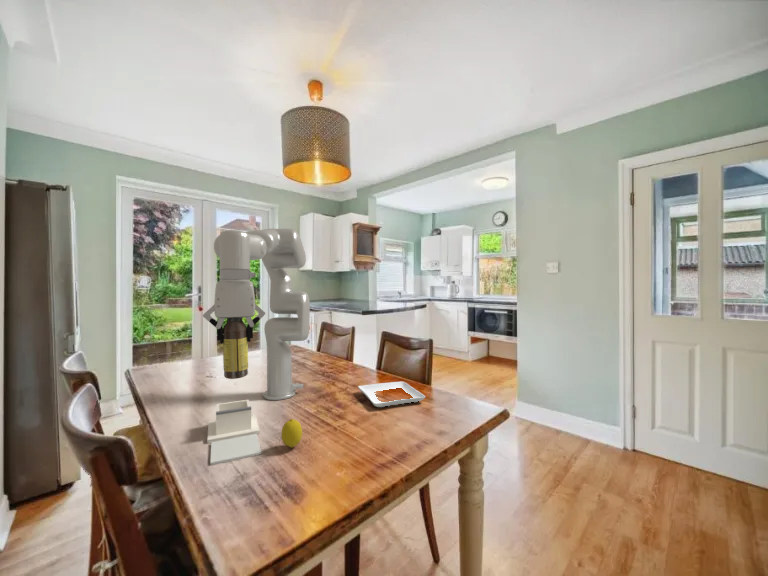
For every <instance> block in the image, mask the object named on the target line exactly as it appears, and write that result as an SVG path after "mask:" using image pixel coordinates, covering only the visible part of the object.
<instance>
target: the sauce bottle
mask: <svg viewBox="0 0 768 576" xmlns="http://www.w3.org/2000/svg"><path fill="white" fill-rule="evenodd" d="M226 320H227V321H226V324H225V325H224V327H222V328H223V343H222V359H223V360H222V361H223V372H224V374H223V378H226V379H230V380H235V379H236V380H237V379H242V378H244V377H246V376H247V375H248V374H249V371H248V370H249V369H248V368H249V351H248V349H249V346H248V344H249V342H248V341H247V327H248V326H247V325H246V324H245V323H244V321H243V318H238V317H233V318H226Z"/></svg>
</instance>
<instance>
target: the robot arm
mask: <svg viewBox="0 0 768 576" xmlns="http://www.w3.org/2000/svg"><path fill="white" fill-rule="evenodd" d="M213 250H214V253H215V255H216V256H217V257H218V258H219V281H216V283H215V288H214V289H215V290H214V302H213V303H214V304H213V305H212V306H210V308H209V309H207V311H205V312H204V313H203V315H202V317H203V318H204V319H205V320H206V321H208V322H209V323H210V324H211V325H212V326H213V327H215V328H216V335H217V336H216V338H217V339H216V340H217V341H219V344H221V345H223V328H224V327H223V323H224V321H225V319H227V318H233V317H238V318H242V319H243V318H245V320H246V321H247V326H246V327H247V341H248V343H250V342H251V339H253V338H254V327H255V325H256V324H257V323H258V322H260V321H261V320H262V318H263V317H264V316H265V315H266V311H264V310H263V309H261V307H259V306H258V305H257V304H256V297H255V289H254V284H253V281H251V279H252V278H256V272H254V271H251V270H250V268H251V265H250V264H251V261H257V260H261V261H262V263H263V266H264V267H265V270H266V272H267V274H268V276H269V281H270V286H269V309H270V310H269V311H270V312H271V313H272V314H276V315H296V316H297V317H283V316H282V317H279V316H278V317H271V318H270V319H268V320H266V322H265V323H264V328H263V329H264V336H265V343H266V390H265V391H264V392H263V393H262V397H263V399H265V400H269V401H281V400H286V399H289V398H292V397H294V396H295V395H296V390H297V389H299V390H300V389H304V383H299V382H296V383H293V381H292V379H293V378H292V350H291V348H290V346H289V344H288V343H287V342H302V341H306V340H308V338H309V334H310V318H311V317H310V313H311V312H310V309H311V308H310V307H311V305H310V304H311V301H310V296H309V294H308V293H307V292H306V291H302V290H293V289H292V288H293V287H292V286H293V279H292V278H291V275H290V274H289V272H288V271H286V269H301V268H303V267H304V266H305V265H306V261H307V255H306V251H305V249H304V245H303V241H302V239H301V237H300V235H299V233H298V231H296V230H295V229H293V228H264V229H257V230H248V231H247V230H246V231H242V230H236V229H235V230H233V229H231V230H230V229H228V230H227V229H226V230H222V231H221V232H220V234H219V235H218V236H217V237H216V238H215V240H214V242H213ZM256 312H257V313H258V314H257V315H256ZM213 313H214V316H215V317H216V318H218V320H216V319H215V318H214V317H212V316H211V315H212V314H213ZM255 315H256V316H255ZM254 316H255V317H254ZM252 317H254V318H253V319H252Z"/></svg>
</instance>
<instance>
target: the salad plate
mask: <svg viewBox="0 0 768 576" xmlns="http://www.w3.org/2000/svg"><path fill="white" fill-rule="evenodd" d="M357 388H358V390H359V391H360V392H361V393H362V394H364V396H366V398H367V399H368V400H369V401H370V402H371V403H372V405H373V406H374V407H377V408H384V407H385V406H388V407H391V406H390V405H395V406H398V405H397V404H402V405H405V404H404V403H409V404H412V403H411V402H414V403H419V402H421V401H423V400H424V399H425V398H426V396H425V395H424V394H423V393H422V392H420V391H419V390H417V389H416V388H415V387H413V386H411V385H410V384H409V383H407V382H405V381H391V382H381V383H380V382H379V383H372V384H366V385H365V384H364V385H358V386H357ZM396 388H402V389H403V390H404V391H405V392H406V393H408V394H410V395H411V396H412V397H413V398H410V399H401V400H394V401H389V402H381V401H379V400H378V399H377V398H378V397H376V395H375V394H376V393H374V392H376V391H383V390H389V389H396ZM418 401H419V402H418ZM385 408H386V407H385Z"/></svg>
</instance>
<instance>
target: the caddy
mask: <svg viewBox="0 0 768 576" xmlns="http://www.w3.org/2000/svg"><path fill="white" fill-rule="evenodd" d="M215 406H216V407H215V416H216V417H215V420H210V421H208V425H207V426H208V427H207V428H208V429H207V438H206V439H207V441H206V442H207V443H208V444H211V442H215V441H220V440H226V439H231V438H236V437H242V436H247V435H252V434H257V435H259V434H258V433H261V430H260V426H259V422H258V419H257V415H256V413H255V414H254V413H252V406H251V403H250V399H245V400H243V399H242V400H237V401H231V402H223V403H216V404H215Z"/></svg>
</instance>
